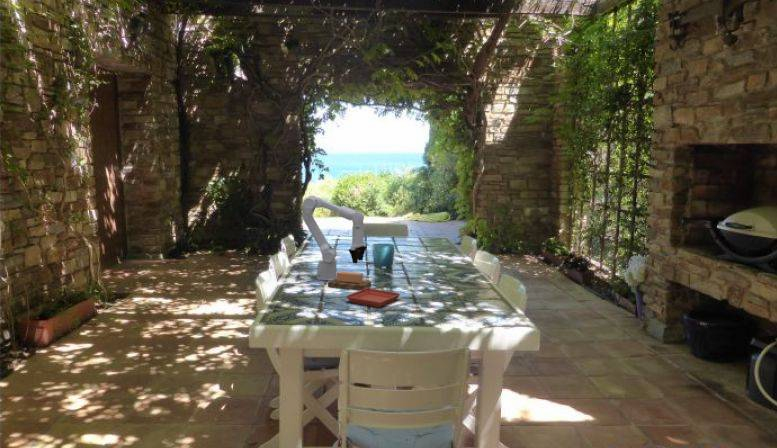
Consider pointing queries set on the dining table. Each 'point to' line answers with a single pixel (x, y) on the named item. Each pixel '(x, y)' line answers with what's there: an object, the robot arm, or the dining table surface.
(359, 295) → the plant saucer
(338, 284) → the brown flat slab
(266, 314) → the dining table surface
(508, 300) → the dining table surface
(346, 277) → the tan stepped block
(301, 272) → the dining table surface
